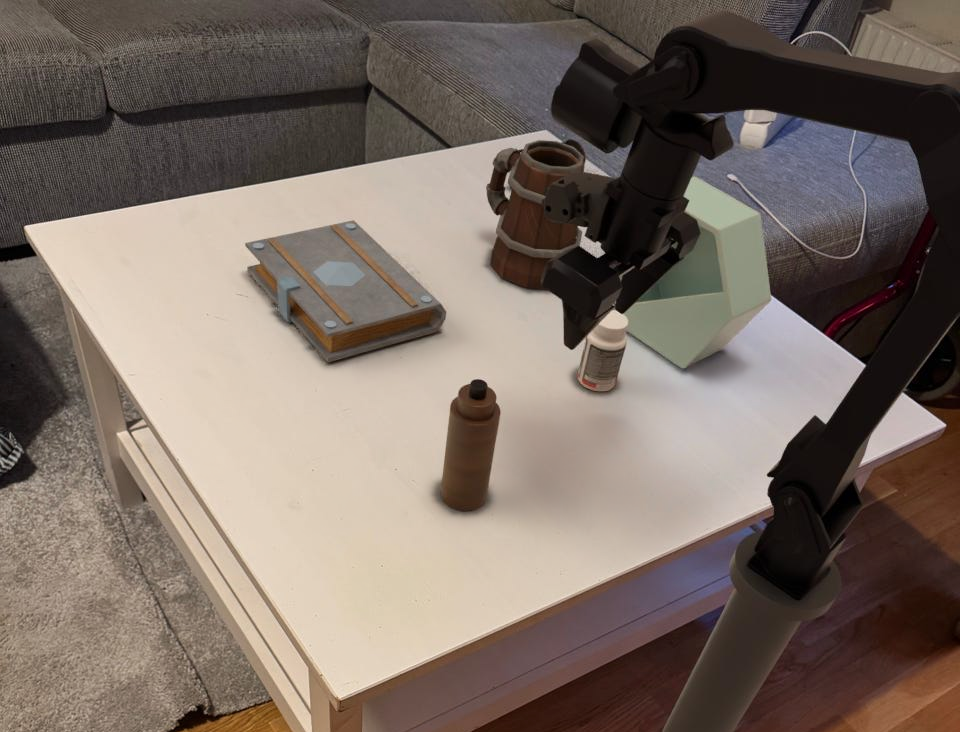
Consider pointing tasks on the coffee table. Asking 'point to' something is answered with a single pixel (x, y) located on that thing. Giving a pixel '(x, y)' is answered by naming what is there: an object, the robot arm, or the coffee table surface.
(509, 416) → the coffee table surface
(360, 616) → the coffee table surface
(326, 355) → the book
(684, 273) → the planter
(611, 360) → the pill bottle
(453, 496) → the pepper mill
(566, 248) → the mug
